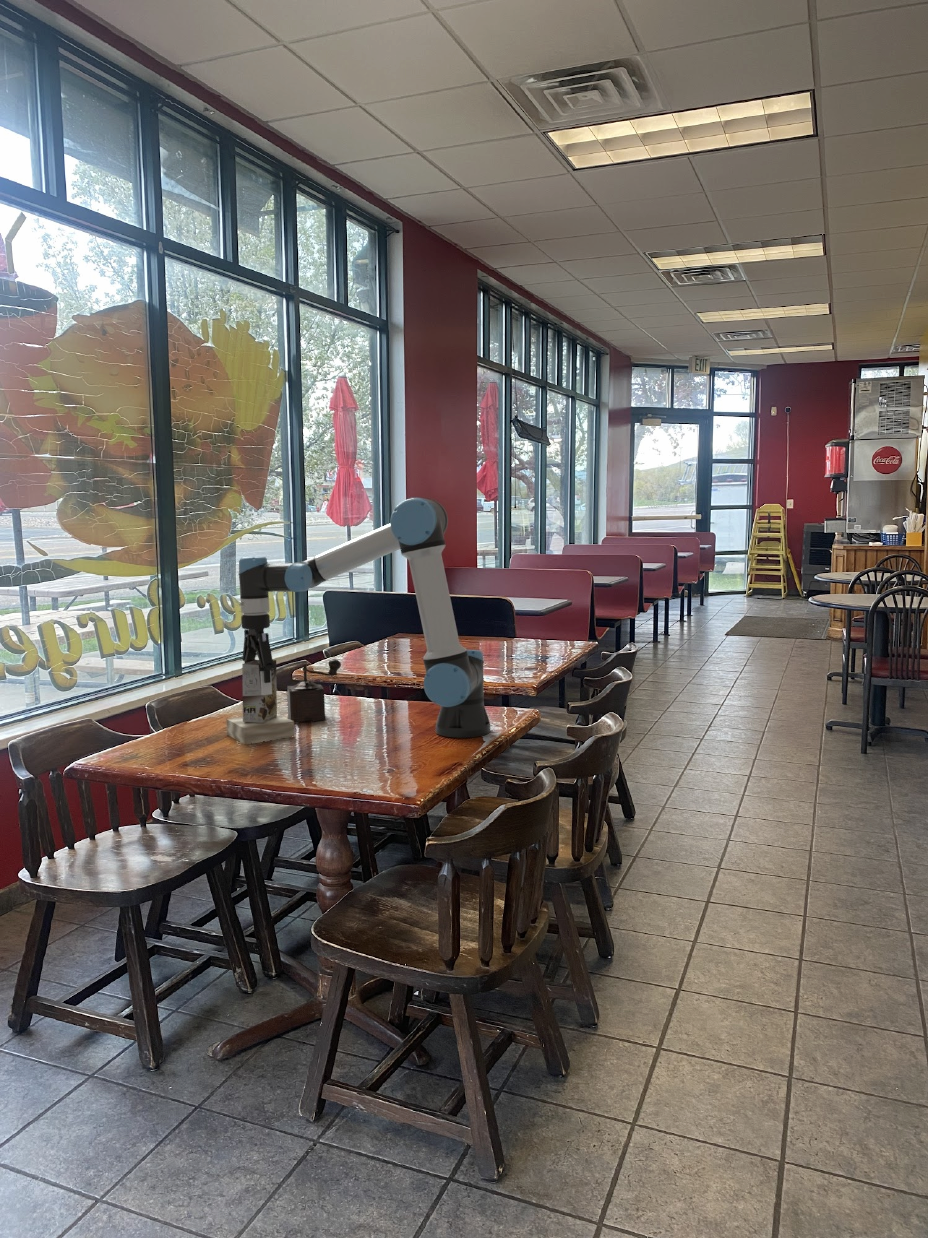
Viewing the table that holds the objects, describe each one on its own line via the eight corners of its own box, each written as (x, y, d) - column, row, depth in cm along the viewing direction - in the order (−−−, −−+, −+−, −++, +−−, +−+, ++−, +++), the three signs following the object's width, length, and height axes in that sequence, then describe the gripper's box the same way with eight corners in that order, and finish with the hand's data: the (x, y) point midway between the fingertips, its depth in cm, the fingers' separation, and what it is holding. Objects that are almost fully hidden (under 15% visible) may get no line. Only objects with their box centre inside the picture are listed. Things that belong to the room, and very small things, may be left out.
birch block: (294, 739, 247) (293, 721, 247) (244, 746, 240) (244, 728, 239) (275, 729, 259) (274, 712, 258) (227, 736, 251) (226, 719, 251)
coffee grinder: (290, 723, 264) (288, 662, 262) (287, 716, 274) (285, 657, 272) (343, 720, 268) (341, 659, 266) (338, 712, 278) (336, 654, 276)
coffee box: (264, 723, 244) (263, 664, 242) (242, 722, 245) (241, 663, 244) (278, 716, 253) (277, 659, 251) (256, 715, 254) (255, 658, 253)
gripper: (228, 611, 254) (232, 685, 257) (255, 618, 233) (259, 699, 235) (254, 609, 258) (258, 682, 260) (283, 616, 237) (287, 696, 239)
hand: (259, 691), depth 248 cm, fingers open, 13 cm apart
